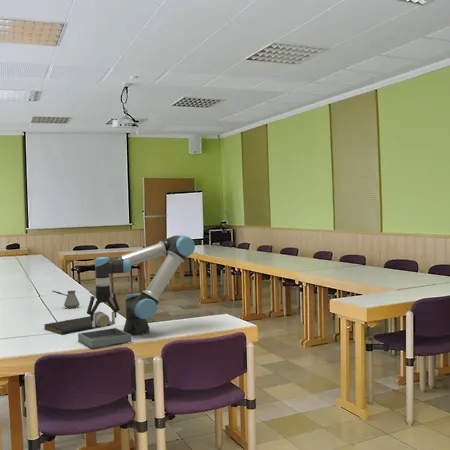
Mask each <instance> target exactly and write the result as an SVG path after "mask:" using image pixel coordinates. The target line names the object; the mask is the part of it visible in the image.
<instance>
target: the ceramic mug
mask: <svg viewBox="0 0 450 450" xmlns="http://www.w3.org/2000/svg"><path fill="white" fill-rule="evenodd" d="M94 315H95V325H97V326H99V327H100V328H106V327H108V326H107V325H108V324H110V326H113V325H114V324H113V322H112V320H110V319H111V318H110V317H109V315H108V314H106V313H104V312H102V311H95V313H94Z"/></svg>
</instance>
